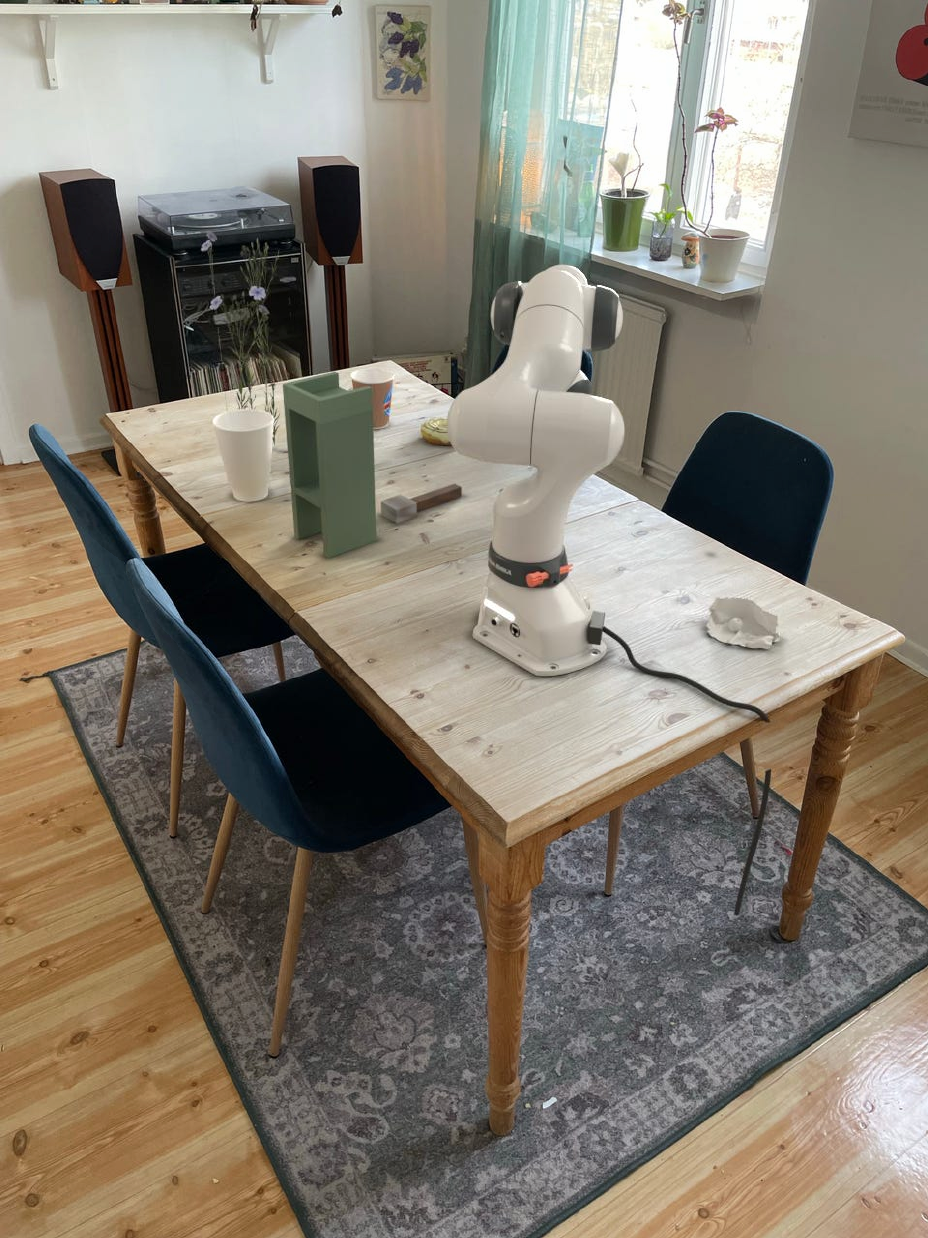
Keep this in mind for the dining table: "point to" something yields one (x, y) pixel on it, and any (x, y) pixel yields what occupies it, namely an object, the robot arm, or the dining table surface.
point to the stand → (331, 462)
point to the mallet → (417, 503)
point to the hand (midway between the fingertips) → (470, 441)
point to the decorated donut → (436, 431)
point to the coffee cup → (376, 392)
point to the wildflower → (258, 294)
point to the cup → (246, 451)
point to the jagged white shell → (742, 623)
